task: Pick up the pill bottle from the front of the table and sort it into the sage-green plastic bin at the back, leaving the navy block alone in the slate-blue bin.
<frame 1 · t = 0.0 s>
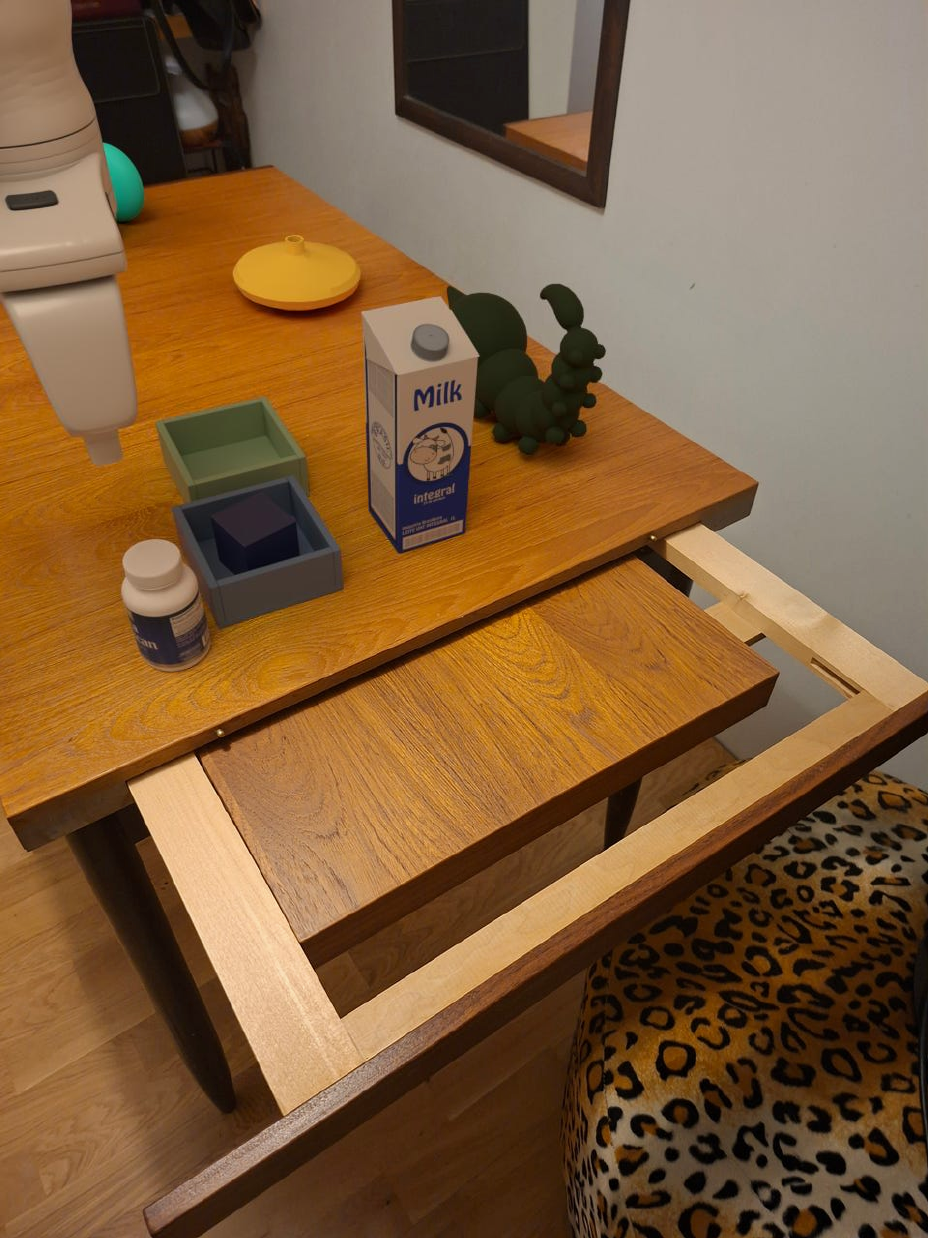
hand: (89, 416, 54), 21 cm above the table, tool pointing down, fingers open, 8 cm apart
donuts: (103, 230, 120), on the table
pill bottle: (176, 649, 69), on the table
blue bin: (260, 568, 75), on the table
milk carton: (416, 523, 81), on the table
green bin: (235, 478, 84), on the table
toy figurine: (501, 418, 94), on the table
navy block: (260, 563, 75), point 1 cm above the table, touching blue bin
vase: (299, 296, 110), on the table
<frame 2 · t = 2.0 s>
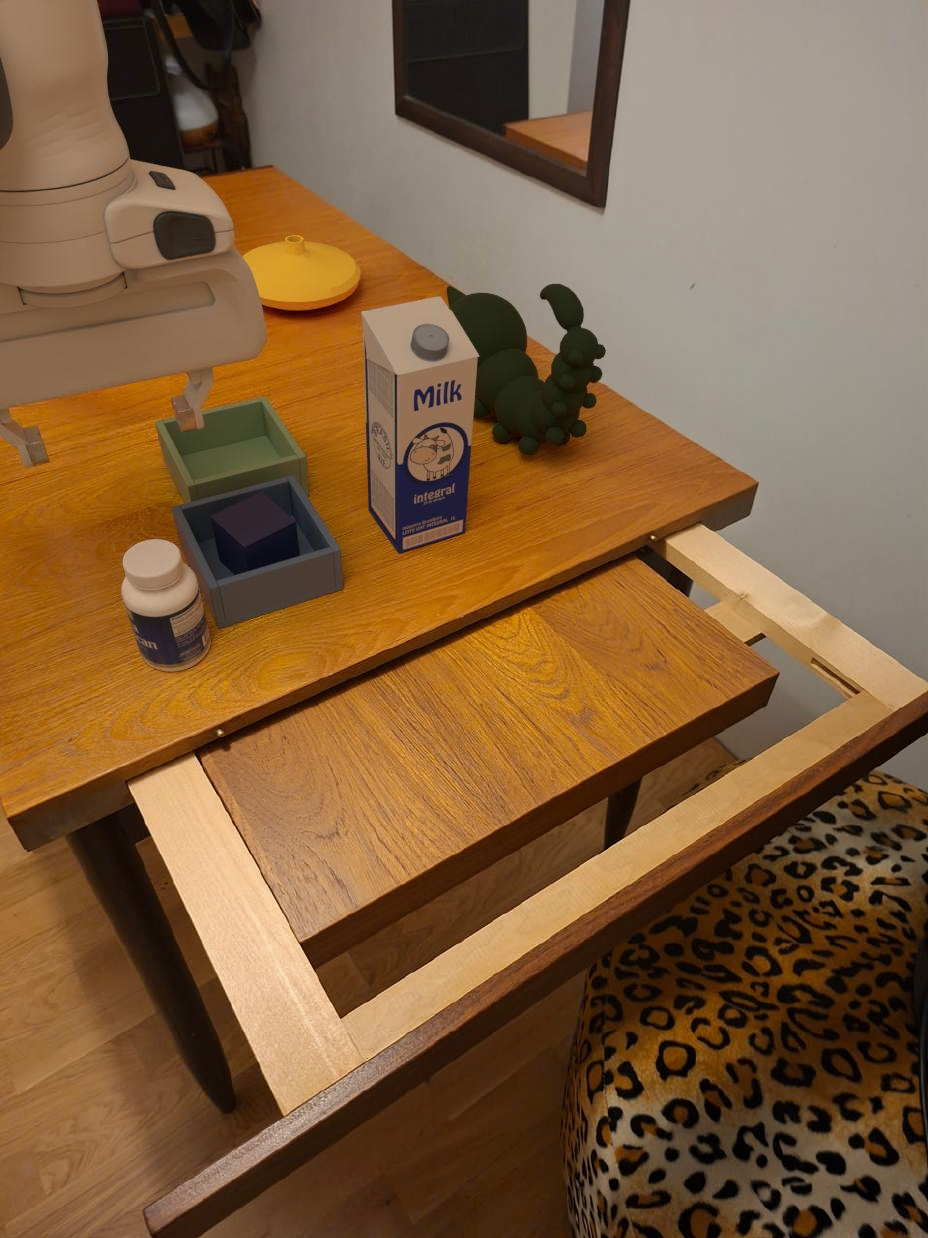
hand: (115, 442, 54), 19 cm above the table, tool pointing down, fingers open, 8 cm apart
nothing on the table moved.
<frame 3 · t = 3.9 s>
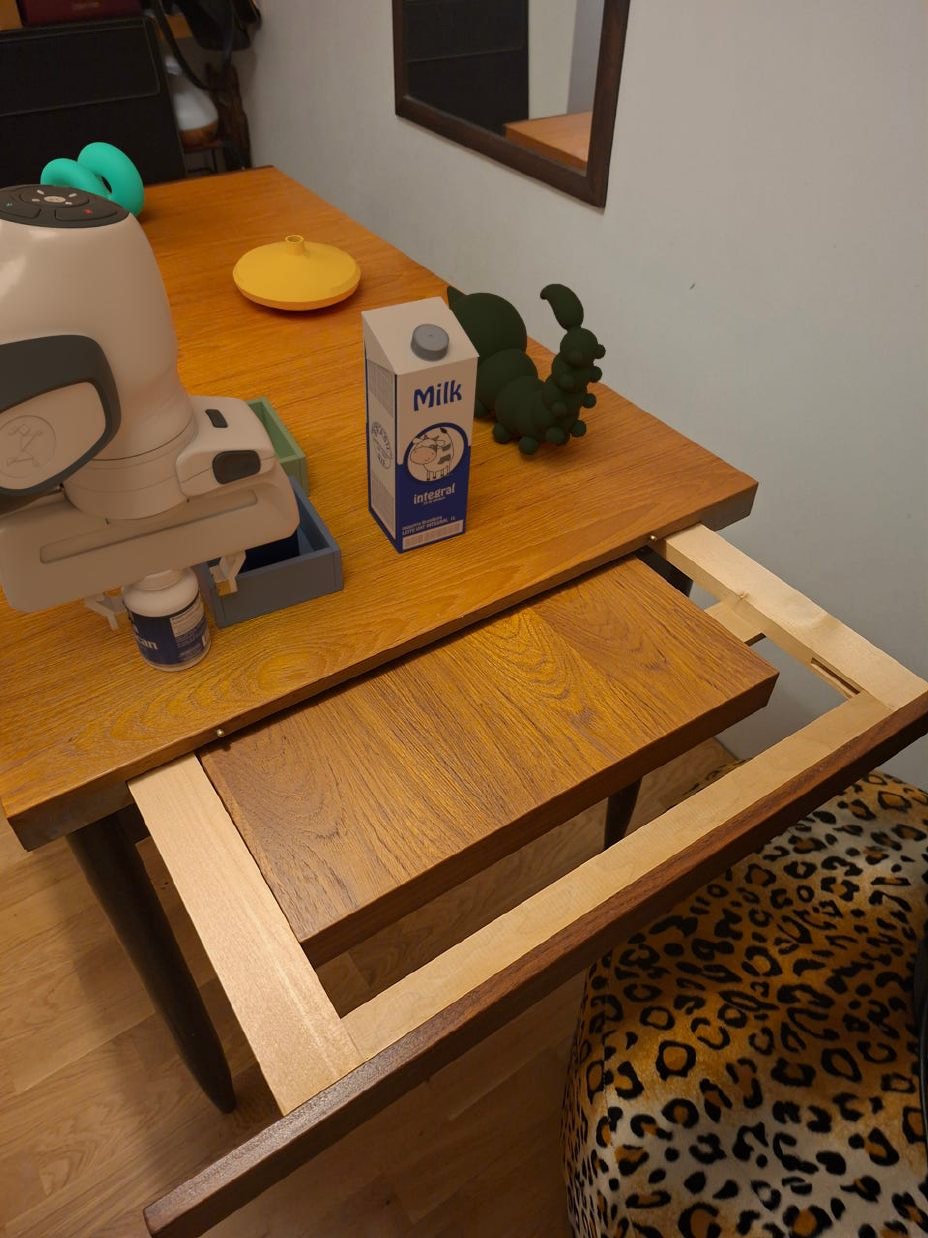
hand: (174, 604, 65), 5 cm above the table, tool pointing down, fingers open, 6 cm apart
pill bottle: (176, 649, 69), on the table, touching gripper
everything else where it was.
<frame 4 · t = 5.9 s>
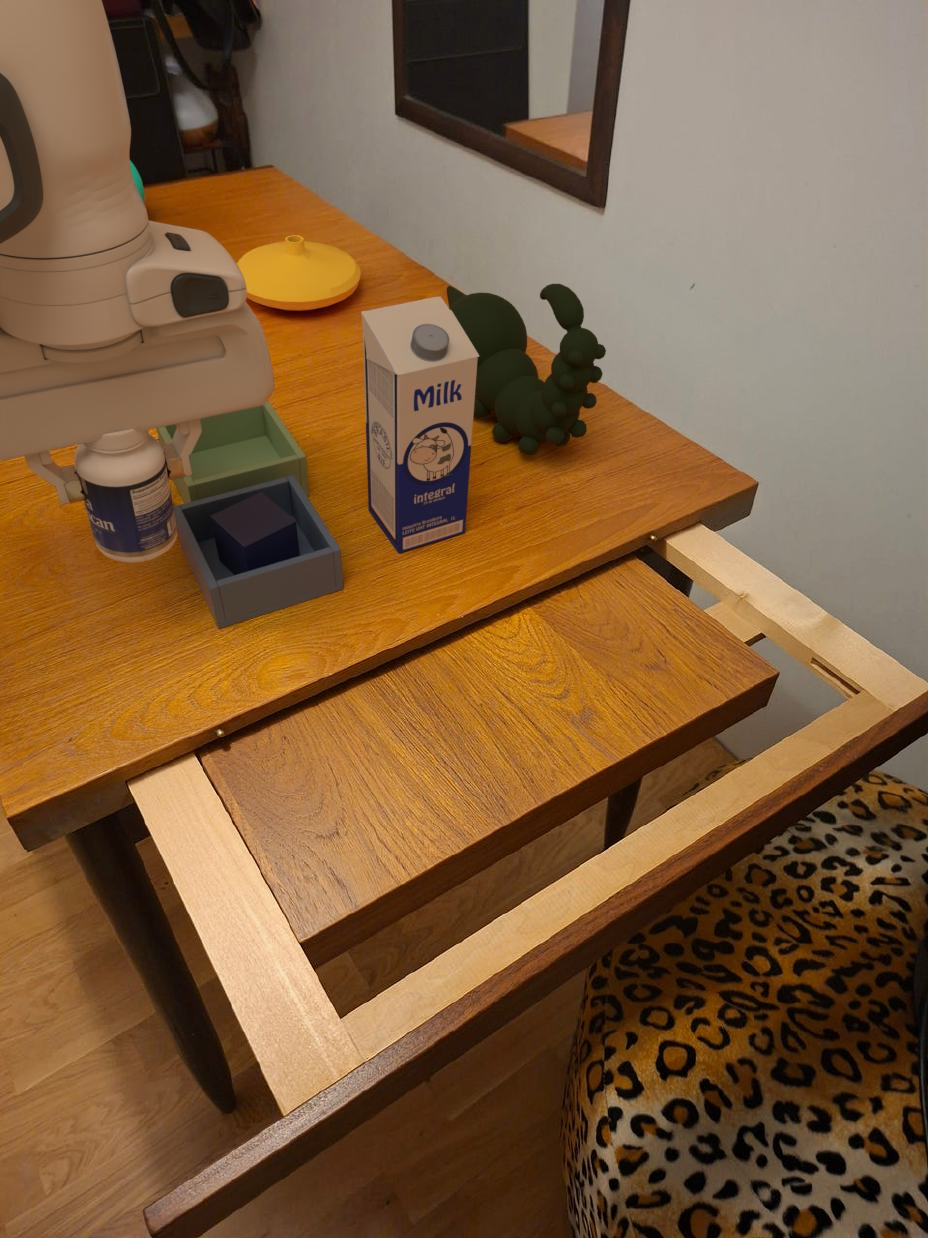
hand: (127, 485, 57), 16 cm above the table, tool pointing down, fingers closed on pill bottle, 5 cm apart
pill bottle: (137, 542, 60), point 11 cm above the table, touching gripper
everything else where it was.
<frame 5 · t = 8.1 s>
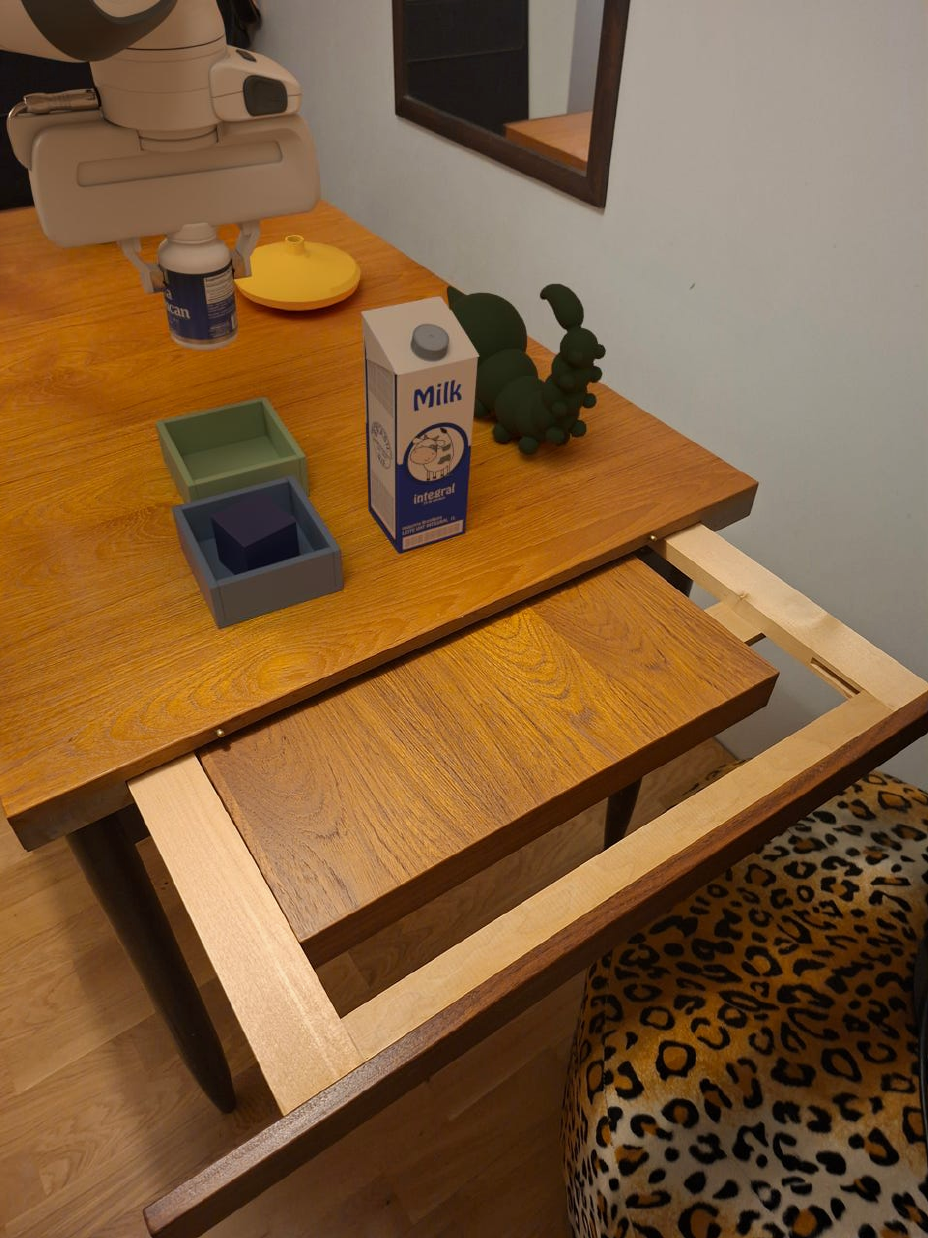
hand: (198, 282, 68), 20 cm above the table, tool pointing down, fingers closed on pill bottle, 5 cm apart
pill bottle: (205, 338, 71), point 15 cm above the table, touching gripper
everything else where it was.
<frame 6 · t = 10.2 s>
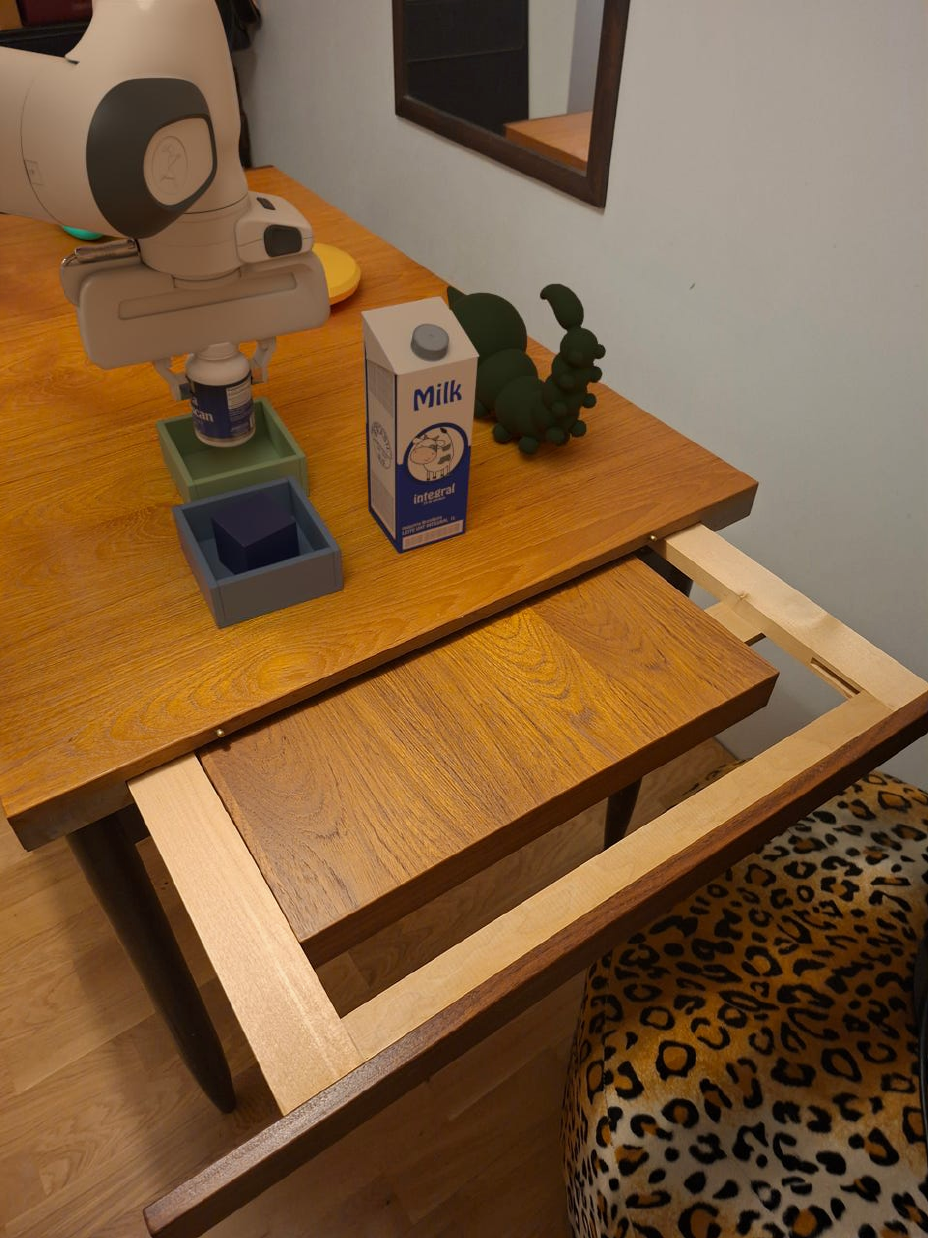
hand: (221, 388, 76), 10 cm above the table, tool pointing down, fingers closed on pill bottle, 5 cm apart
pill bottle: (226, 434, 80), point 5 cm above the table, touching gripper
everything else where it was.
when the fingers open (5 cm above the table, at t = 11.9 s): pill bottle stays where it is, resting on green bin.
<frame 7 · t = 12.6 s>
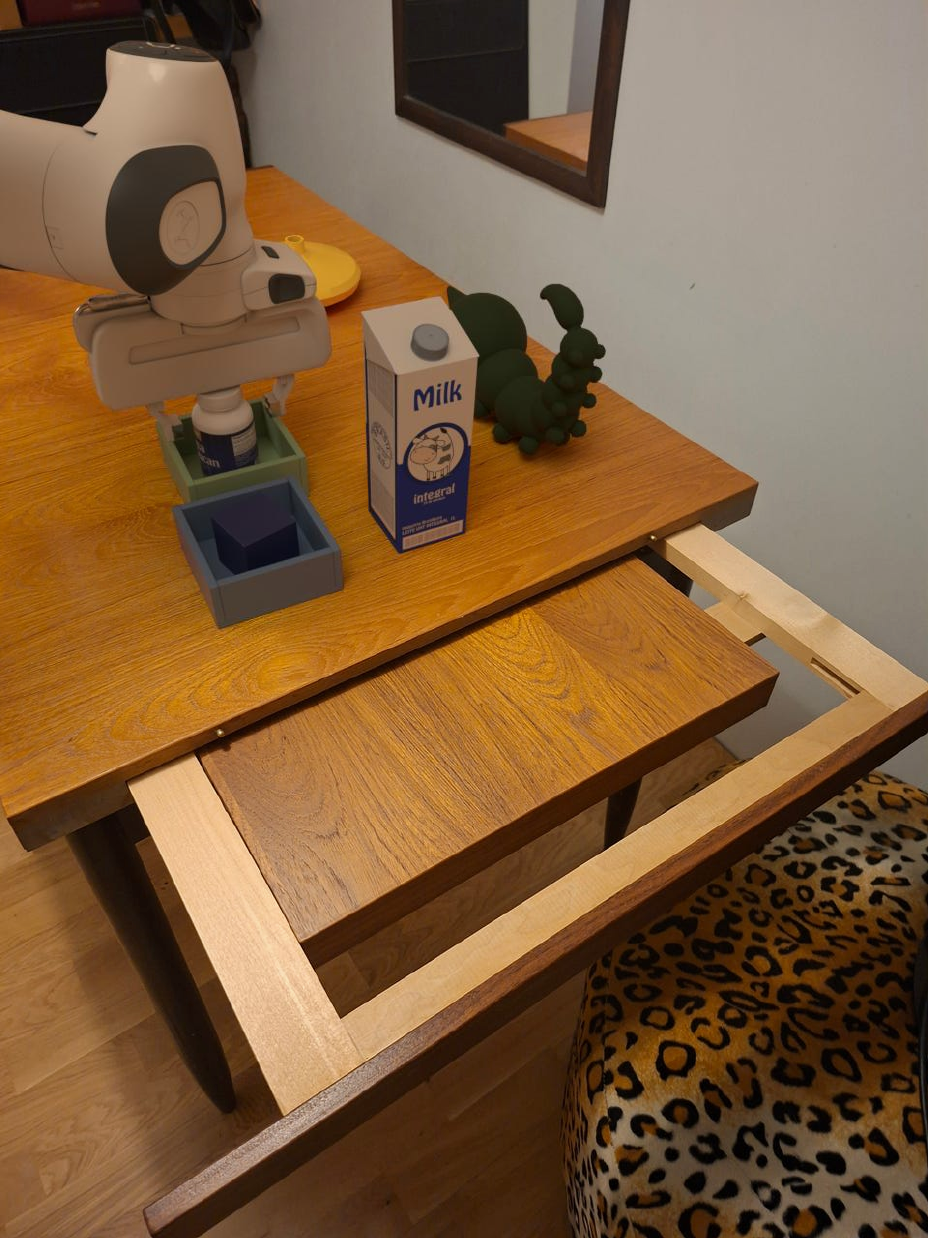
hand: (226, 425, 79), 6 cm above the table, tool pointing down, fingers open, 8 cm apart
pill bottle: (232, 476, 83), resting on green bin
everything else where it was.
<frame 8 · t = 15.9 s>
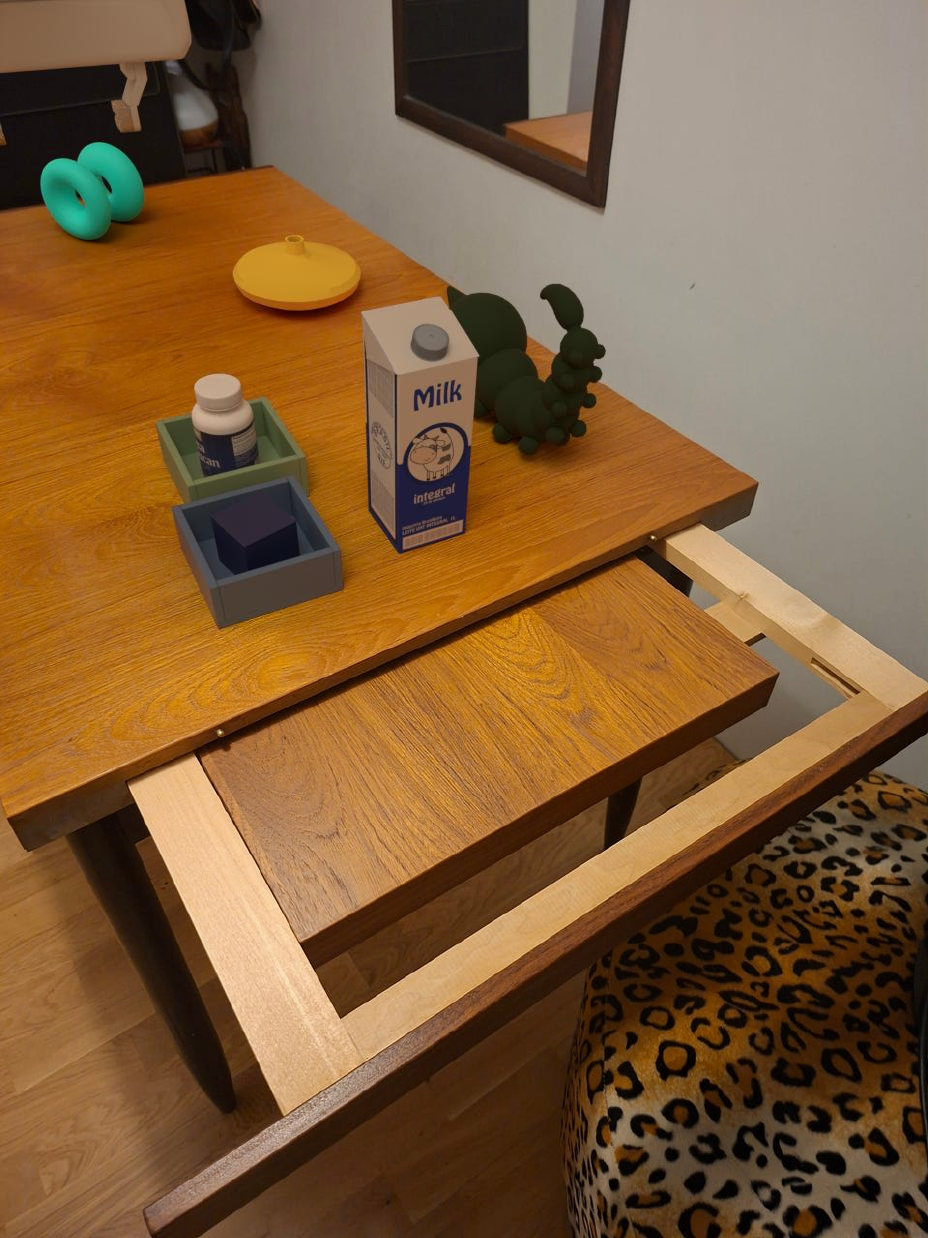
hand: (63, 136, 64), 29 cm above the table, tool pointing down, fingers open, 8 cm apart
nothing on the table moved.
at the end: pill bottle inside the target area in the green bin (0.4 cm from its centre), point 0.4 cm above the green bin's base; the gripper is holding nothing; navy block moved 0.0 cm from its start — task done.
